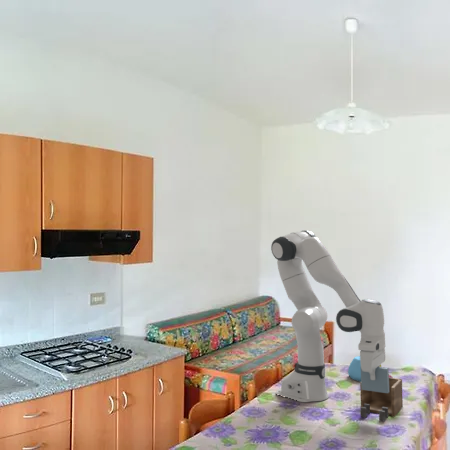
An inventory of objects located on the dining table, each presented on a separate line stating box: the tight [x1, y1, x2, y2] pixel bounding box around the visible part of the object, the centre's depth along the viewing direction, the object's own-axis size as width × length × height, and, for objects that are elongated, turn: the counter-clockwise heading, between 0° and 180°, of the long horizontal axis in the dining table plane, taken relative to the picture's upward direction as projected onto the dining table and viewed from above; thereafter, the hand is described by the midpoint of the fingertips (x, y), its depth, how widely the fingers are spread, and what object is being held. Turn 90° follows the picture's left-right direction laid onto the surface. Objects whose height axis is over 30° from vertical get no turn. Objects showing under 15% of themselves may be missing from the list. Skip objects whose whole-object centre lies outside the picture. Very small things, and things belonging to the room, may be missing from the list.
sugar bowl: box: [347, 355, 361, 382], centre depth 236 cm, size 15×15×12 cm
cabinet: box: [359, 377, 403, 422], centre depth 190 cm, size 13×20×11 cm, turn 147°
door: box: [360, 366, 390, 393], centre depth 185 cm, size 10×3×9 cm, turn 57°
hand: (374, 378), depth 184 cm, fingers closed on door, 2 cm apart
